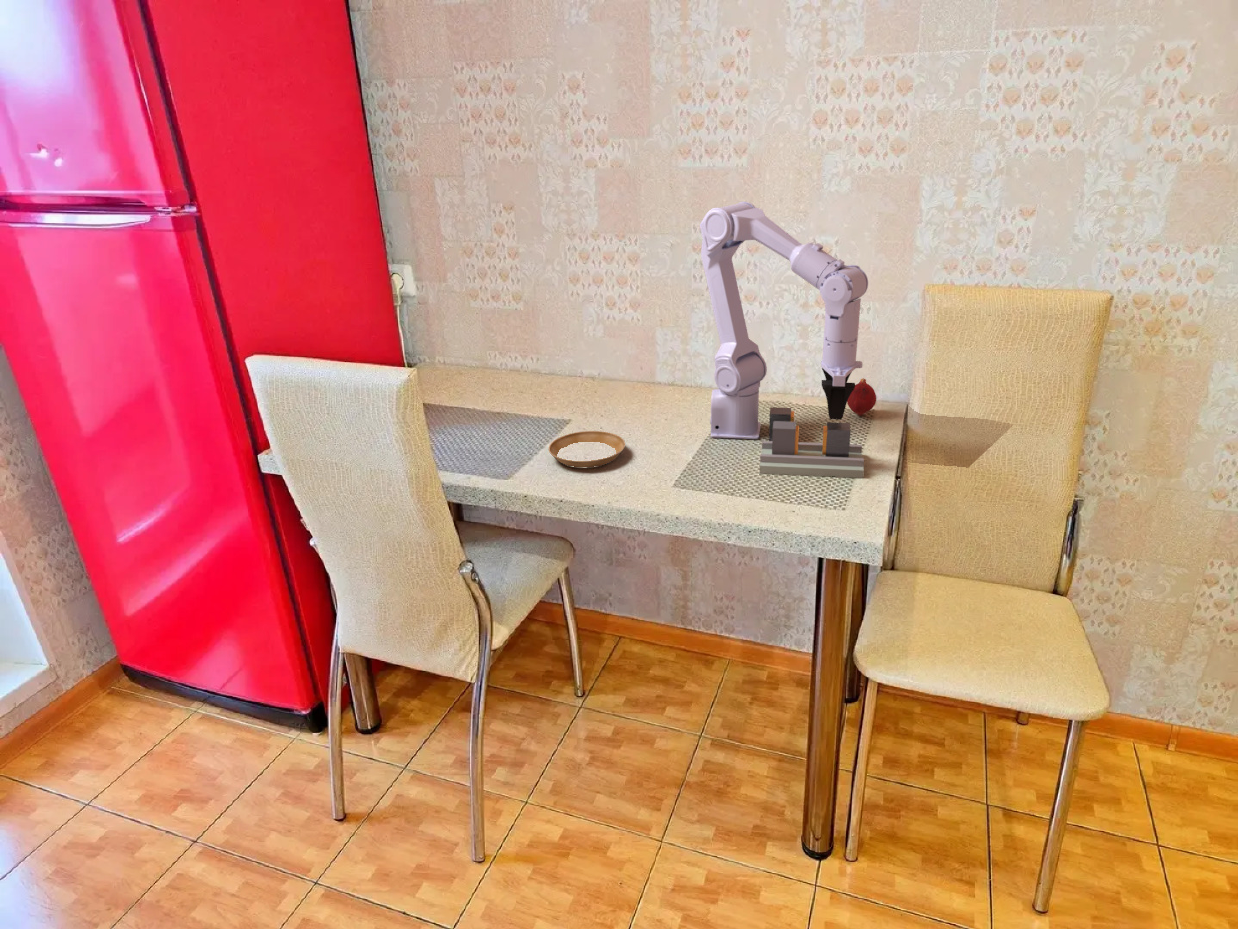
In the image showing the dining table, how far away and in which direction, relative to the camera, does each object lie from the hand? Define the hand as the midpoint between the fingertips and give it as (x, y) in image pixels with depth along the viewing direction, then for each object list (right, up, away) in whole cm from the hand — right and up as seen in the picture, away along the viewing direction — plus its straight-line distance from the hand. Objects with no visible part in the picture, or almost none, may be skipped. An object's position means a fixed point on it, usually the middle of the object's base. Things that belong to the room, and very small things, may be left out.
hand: (835, 410), depth 149 cm
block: (-8, -5, +13) cm, 16 cm away
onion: (+11, 0, +22) cm, 25 cm away
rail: (-4, -10, +2) cm, 11 cm away
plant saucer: (-45, -9, +10) cm, 47 cm away
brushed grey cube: (0, -8, 0) cm, 8 cm away
